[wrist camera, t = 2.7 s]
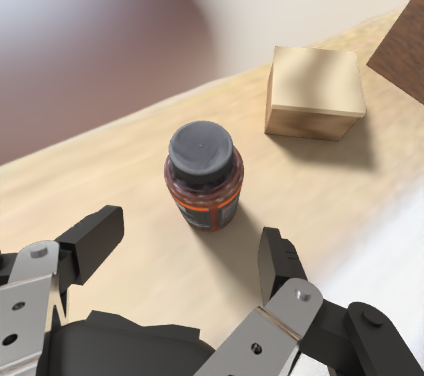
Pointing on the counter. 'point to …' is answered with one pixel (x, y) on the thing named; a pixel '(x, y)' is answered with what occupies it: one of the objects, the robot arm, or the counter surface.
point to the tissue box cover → (404, 52)
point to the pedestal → (313, 93)
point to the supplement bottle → (204, 174)
